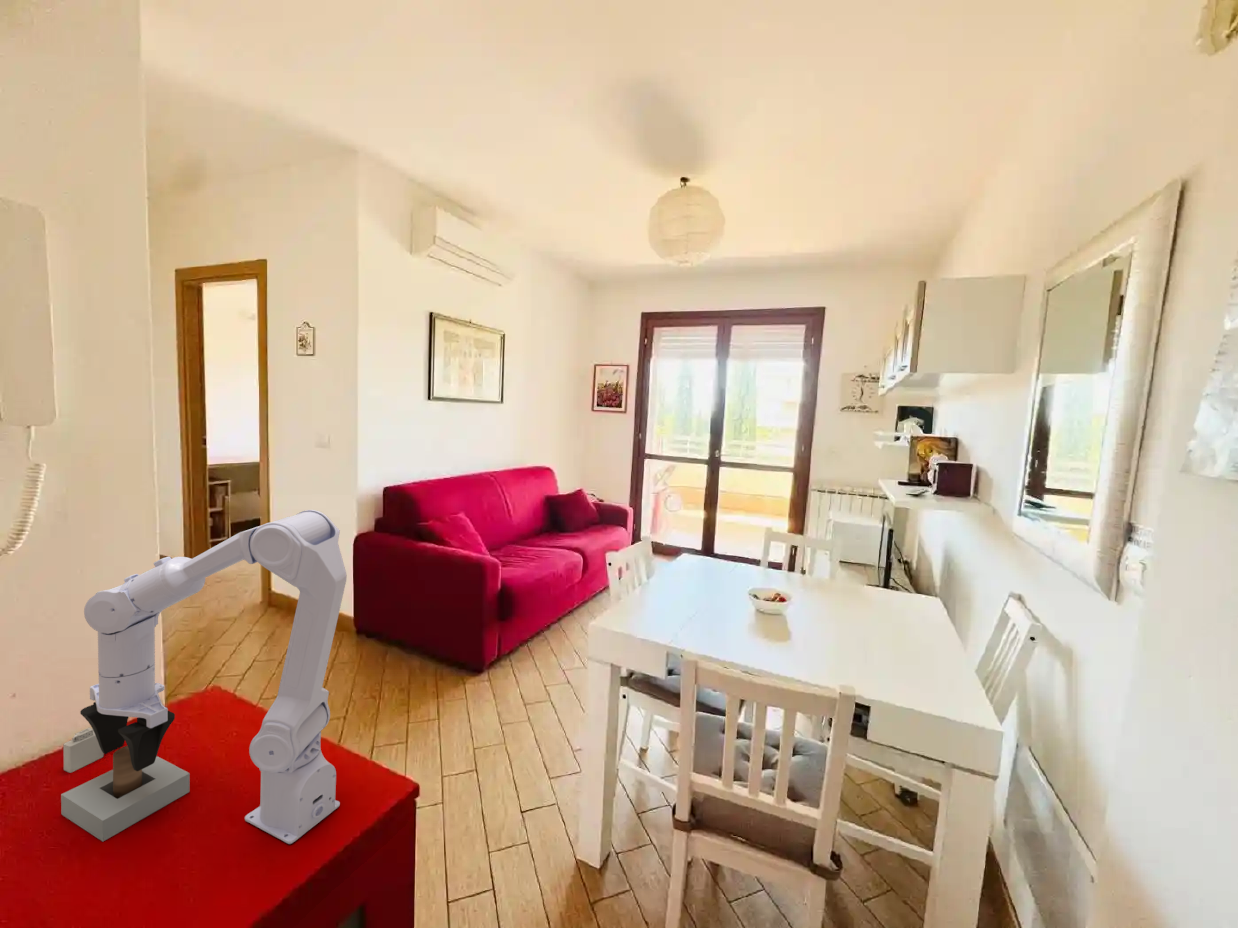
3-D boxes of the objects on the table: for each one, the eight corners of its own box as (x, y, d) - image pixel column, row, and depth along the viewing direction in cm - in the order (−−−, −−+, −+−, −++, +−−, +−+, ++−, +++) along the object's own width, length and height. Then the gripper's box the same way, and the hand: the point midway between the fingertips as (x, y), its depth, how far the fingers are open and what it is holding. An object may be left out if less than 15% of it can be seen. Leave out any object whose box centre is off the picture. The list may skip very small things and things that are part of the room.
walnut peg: (146, 799, 74) (146, 748, 74) (120, 813, 72) (120, 760, 71) (134, 792, 76) (134, 741, 75) (108, 806, 73) (108, 753, 72)
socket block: (189, 791, 77) (189, 773, 76) (102, 841, 67) (102, 820, 67) (149, 769, 80) (149, 751, 80) (61, 814, 71) (61, 794, 70)
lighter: (70, 772, 78) (69, 723, 77) (63, 769, 79) (62, 720, 78) (126, 745, 85) (126, 699, 84) (119, 742, 85) (119, 697, 85)
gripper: (192, 668, 73) (192, 756, 74) (132, 643, 78) (133, 727, 79) (130, 691, 66) (131, 788, 68) (69, 663, 71) (71, 754, 73)
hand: (128, 757), depth 73 cm, fingers open, 7 cm apart
